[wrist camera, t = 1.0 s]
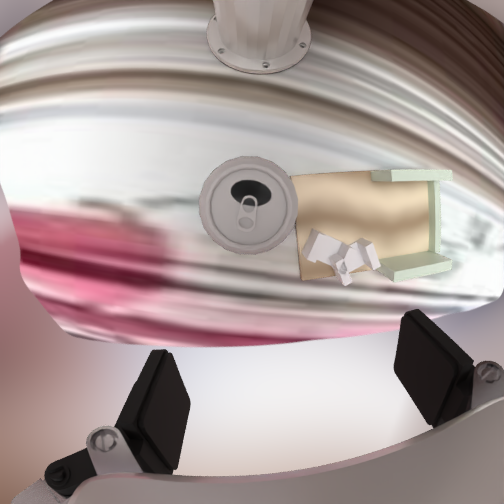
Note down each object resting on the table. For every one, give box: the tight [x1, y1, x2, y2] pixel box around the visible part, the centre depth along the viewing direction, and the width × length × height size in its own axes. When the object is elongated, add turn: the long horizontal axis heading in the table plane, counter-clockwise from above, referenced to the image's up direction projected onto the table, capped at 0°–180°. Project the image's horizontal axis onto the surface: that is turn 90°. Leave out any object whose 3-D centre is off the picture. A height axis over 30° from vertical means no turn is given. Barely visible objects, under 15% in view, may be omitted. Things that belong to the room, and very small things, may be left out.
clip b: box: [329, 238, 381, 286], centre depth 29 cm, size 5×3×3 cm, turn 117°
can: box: [199, 156, 298, 254], centre depth 24 cm, size 8×8×12 cm
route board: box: [290, 170, 429, 281], centre depth 30 cm, size 12×20×1 cm, turn 97°
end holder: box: [371, 169, 453, 282], centre depth 27 cm, size 12×10×5 cm
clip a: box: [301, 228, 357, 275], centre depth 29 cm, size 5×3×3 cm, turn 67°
